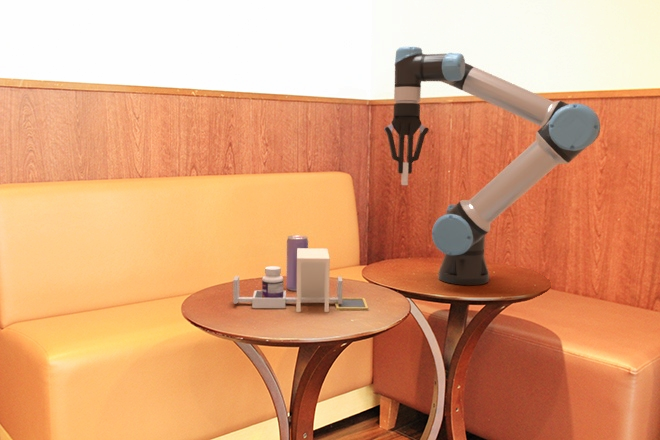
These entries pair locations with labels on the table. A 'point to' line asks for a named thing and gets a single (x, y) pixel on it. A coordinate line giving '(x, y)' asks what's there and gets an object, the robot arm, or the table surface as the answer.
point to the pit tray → (352, 304)
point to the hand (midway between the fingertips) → (404, 184)
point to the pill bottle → (272, 283)
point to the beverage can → (294, 259)
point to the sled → (280, 302)
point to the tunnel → (312, 274)
